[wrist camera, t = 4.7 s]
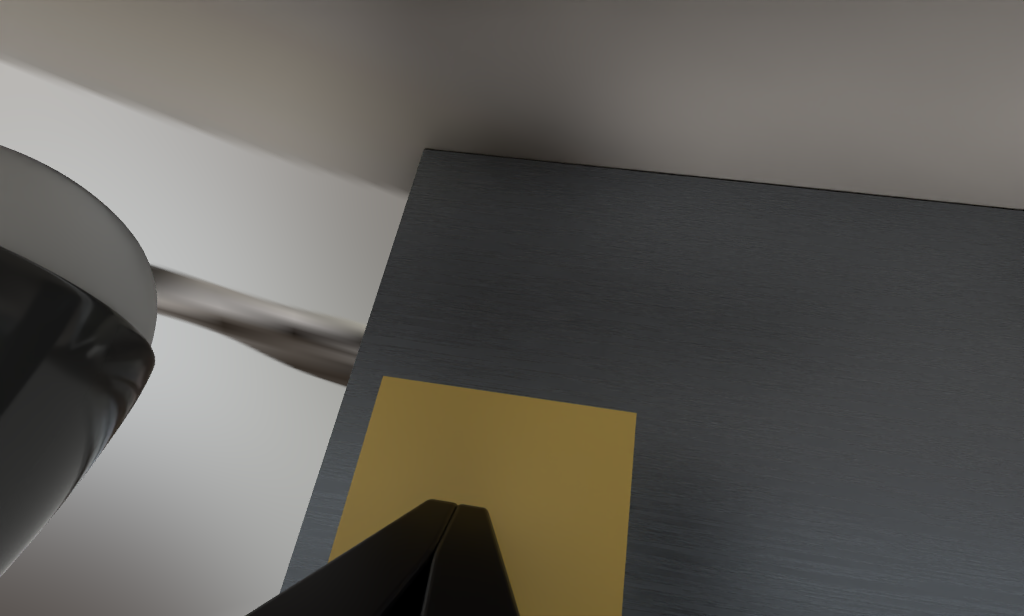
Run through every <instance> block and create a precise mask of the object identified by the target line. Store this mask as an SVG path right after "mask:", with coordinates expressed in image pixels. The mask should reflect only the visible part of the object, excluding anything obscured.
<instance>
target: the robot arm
mask: <svg viewBox="0 0 1024 616" xmlns="http://www.w3.org/2000/svg"><path fill="white" fill-rule="evenodd" d="M246 616H520V613H519V610H518V607H517V603H516V600H515V597H514V593H513V590H512V587H511V584H510V580H509V577H508V574H507V570H506V567H505V564H504V561H503V557H502V554H501V551H500V547H499V544H498V541H497V538H496V534H495V531H494V528H493V525H492V521H491V518H490V515H489V512H488V510H487V509H486V508H484V507H478V506H472V505H466V504H460V505H457V504H456V503H454V502H448V501H442V500H436V499H429V500H427V501H425V502H423V503H422V504H420V505H418V506H417V507H415V508H414V509H412V510H411V511H409V512H407V513H406V514H404V515H403V516H401V517H400V518H398V519H396V520H395V521H393V522H392V523H390V524H389V525H387V526H385V527H384V528H382V529H381V530H379V531H378V532H376V533H374V534H373V535H371V536H370V537H368V538H367V539H365V540H363V541H362V542H360V543H359V544H357V545H356V546H354V547H352V548H351V549H349V550H348V551H346V552H345V553H343V554H341V555H340V556H338V557H337V558H335V559H334V560H332V561H330V562H329V563H327V564H326V565H324V566H323V567H321V568H319V569H318V570H316V571H315V572H313V573H312V574H310V575H308V576H307V577H305V578H304V579H302V580H301V581H299V582H297V583H296V584H294V585H293V586H291V587H290V588H288V589H286V590H285V591H283V592H282V593H280V594H279V595H277V596H276V597H274V598H272V599H271V600H269V601H268V602H266V603H264V604H263V605H261V606H260V607H258V608H257V609H255V610H253V611H252V612H250V613H249V614H247V615H246Z"/></svg>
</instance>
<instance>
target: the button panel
mask: <svg viewBox="0 0 1024 616" xmlns="http://www.w3.org/2000/svg"><path fill="white" fill-rule="evenodd" d="M383 376H388V377H395V378H401V379H408V380H415V381H422V382H429V383H435V384H442V385H449V386H456V387H463V388H469V389H476V390H483V391H490V392H497V393H503V394H510V395H517V396H524V397H531V398H538V399H544V400H551V401H558V402H565V403H572V404H578V405H585V406H592V407H599V408H606V409H612V410H619V411H626V412H633V413H637V414H636V428H635V441H634V455H633V468H632V482H631V495H630V509H629V522H628V536H627V549H626V563H625V576H624V590H623V603H622V616H1024V211H1017V210H1007V209H998V208H988V207H978V206H969V205H959V204H949V203H939V202H930V201H920V200H910V199H901V198H891V197H881V196H871V195H862V194H852V193H842V192H833V191H823V190H813V189H803V188H794V187H784V186H774V185H765V184H755V183H745V182H735V181H726V180H716V179H706V178H697V177H687V176H677V175H667V174H658V173H648V172H638V171H629V170H619V169H609V168H599V167H590V166H580V165H570V164H561V163H551V162H541V161H531V160H522V159H512V158H502V157H493V156H483V155H473V154H463V153H454V152H444V151H434V150H425V149H424V151H423V154H422V157H421V160H420V163H419V166H418V169H417V173H416V176H415V179H414V182H413V185H412V188H411V191H410V194H409V197H408V200H407V203H406V206H405V209H404V213H403V216H402V219H401V222H400V225H399V228H398V231H397V234H396V237H395V240H394V243H393V246H392V250H391V253H390V256H389V259H388V262H387V265H386V268H385V271H384V274H383V277H382V280H381V283H380V286H379V289H378V293H377V296H376V299H375V302H374V305H373V308H372V311H371V314H370V317H369V320H368V323H367V326H366V330H365V333H364V336H363V339H362V342H361V345H360V348H359V351H358V354H357V357H356V360H355V363H354V366H353V370H352V373H351V376H350V379H349V382H348V385H347V388H346V391H345V394H344V397H343V400H342V404H341V406H340V410H339V413H338V416H337V419H336V422H335V425H334V428H333V432H332V434H331V437H330V440H329V443H328V446H327V450H326V453H325V456H324V459H323V462H322V465H321V468H320V471H319V474H318V478H317V480H316V483H315V487H314V490H313V493H312V496H311V499H310V503H309V505H308V508H307V511H306V514H305V517H304V521H303V523H302V527H301V530H300V533H299V536H298V539H297V542H296V545H295V548H294V551H293V554H292V558H291V560H290V563H289V567H288V570H287V573H286V576H285V579H284V582H283V585H282V588H281V591H280V593H282V592H283V591H285V590H286V589H288V588H290V587H291V586H293V585H294V584H296V583H297V582H299V581H301V580H302V579H304V578H305V577H307V576H308V575H310V574H312V573H313V572H315V571H316V570H318V569H319V568H321V567H323V566H324V565H326V564H327V563H328V560H329V557H330V553H331V550H332V546H333V543H334V540H335V536H336V533H337V530H338V526H339V523H340V519H341V516H342V513H343V509H344V506H345V503H346V499H347V496H348V492H349V489H350V486H351V482H352V479H353V476H354V472H355V469H356V466H357V462H358V459H359V455H360V452H361V449H362V445H363V442H364V439H365V435H366V432H367V428H368V425H369V422H370V418H371V415H372V412H373V408H374V405H375V401H376V398H377V395H378V391H379V388H380V385H381V381H382V378H383Z"/></svg>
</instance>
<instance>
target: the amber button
mask: <svg viewBox="0 0 1024 616" xmlns="http://www.w3.org/2000/svg"><path fill="white" fill-rule="evenodd" d="M636 414H637V413H633V412H626V411H619V410H612V409H606V408H599V407H592V406H585V405H578V404H572V403H565V402H558V401H551V400H544V399H538V398H531V397H524V396H517V395H510V394H503V393H497V392H490V391H483V390H476V389H469V388H463V387H456V386H449V385H442V384H435V383H429V382H422V381H415V380H408V379H401V378H395V377H388V376H383V378H382V381H381V385H380V388H379V391H378V395H377V398H376V401H375V405H374V408H373V412H372V415H371V418H370V422H369V425H368V428H367V432H366V435H365V439H364V442H363V445H362V449H361V452H360V455H359V459H358V462H357V466H356V469H355V472H354V476H353V479H352V482H351V486H350V489H349V492H348V496H347V499H346V503H345V506H344V509H343V513H342V516H341V519H340V523H339V526H338V530H337V533H336V536H335V540H334V543H333V546H332V550H331V553H330V557H329V560H328V563H329V562H330V561H332V560H334V559H335V558H337V557H338V556H340V555H341V554H343V553H345V552H346V551H348V550H349V549H351V548H352V547H354V546H356V545H357V544H359V543H360V542H362V541H363V540H365V539H367V538H368V537H370V536H371V535H373V534H374V533H376V532H378V531H379V530H381V529H382V528H384V527H385V526H387V525H389V524H390V523H392V522H393V521H395V520H396V519H398V518H400V517H401V516H403V515H404V514H406V513H407V512H409V511H411V510H412V509H414V508H415V507H417V506H418V505H420V504H422V503H423V502H425V501H427V500H429V499H436V500H442V501H448V502H454V503H456V504H457V505H460V504H466V505H472V506H478V507H484V508H486V509H487V510H488V512H489V515H490V518H491V521H492V525H493V528H494V531H495V534H496V538H497V541H498V544H499V547H500V551H501V554H502V557H503V561H504V564H505V567H506V570H507V574H508V577H509V580H510V584H511V587H512V590H513V593H514V597H515V600H516V603H517V607H518V610H519V613H520V616H622V603H623V590H624V576H625V563H626V549H627V536H628V522H629V509H630V495H631V482H632V468H633V455H634V441H635V428H636Z"/></svg>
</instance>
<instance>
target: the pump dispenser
mask: <svg viewBox="0 0 1024 616" xmlns="http://www.w3.org/2000/svg"><path fill="white" fill-rule="evenodd" d="M156 318H157V294H156V285H155V281H154V277H153V273H152V270H151V267H150V264H149V262H148V260H147V258H146V256H145V253H144V251H143V250H142V248H141V247H140V245H139V243H138V241H137V240H136V238H135V237H134V236H133V234H132V233H131V232H130V231H129V229H128V228H127V227H126V226H125V224H124V223H123V222H122V221H121V220H120V219H119V218H118V217H117V216H116V215H115V214H114V213H113V212H112V211H111V210H110V209H109V208H108V207H107V206H105V205H104V204H103V203H102V202H101V201H99V200H98V199H97V198H96V197H95V196H93V195H92V194H91V193H90V192H88V191H87V190H86V189H84V188H83V187H82V186H80V185H79V184H77V183H75V182H74V181H72V180H71V179H70V178H68V177H66V176H65V175H63V174H61V173H60V172H58V171H56V170H54V169H53V168H51V167H49V166H47V165H45V164H43V163H41V162H39V161H37V160H35V159H33V158H31V157H28V156H26V155H24V154H22V153H19V152H17V151H14V150H11V149H9V148H6V147H4V146H1V145H0V577H1V576H2V574H3V573H4V572H5V571H6V570H7V569H8V568H9V567H10V565H11V564H12V563H13V562H14V561H15V560H16V559H17V557H18V556H19V555H20V554H21V553H22V552H23V551H24V549H25V548H26V547H27V546H28V545H29V544H30V542H31V541H32V540H33V539H34V538H35V536H36V535H37V534H38V533H39V532H40V531H41V530H42V528H43V527H44V526H45V525H46V524H47V522H48V521H49V520H50V518H52V516H53V515H54V514H55V513H56V511H57V510H58V509H59V508H60V507H61V505H62V504H63V503H64V502H65V500H66V499H67V498H68V497H69V495H70V494H71V493H72V491H73V490H74V489H75V488H76V486H77V485H78V484H79V482H80V481H81V480H82V478H83V477H84V475H85V474H86V473H87V472H88V470H89V469H90V468H91V466H92V465H93V463H94V462H95V461H96V459H97V458H98V457H99V455H100V454H101V452H102V451H103V450H104V448H105V447H106V445H107V444H108V443H109V441H110V439H111V438H112V437H113V435H114V434H115V432H116V431H117V429H118V428H119V427H120V425H121V424H122V422H123V421H124V419H125V418H126V416H127V415H128V413H129V412H130V410H131V409H132V407H133V406H134V404H135V403H136V401H137V399H138V397H139V396H140V394H141V392H142V390H143V388H144V387H145V385H146V383H147V381H148V379H149V377H150V375H151V373H152V371H153V368H154V365H155V356H154V352H153V350H152V348H151V344H152V340H153V336H154V331H155V325H156Z"/></svg>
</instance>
